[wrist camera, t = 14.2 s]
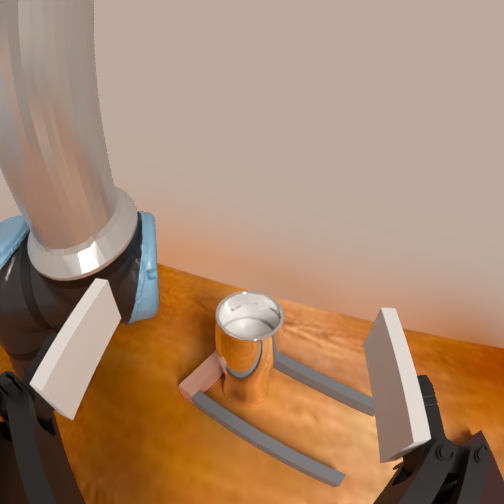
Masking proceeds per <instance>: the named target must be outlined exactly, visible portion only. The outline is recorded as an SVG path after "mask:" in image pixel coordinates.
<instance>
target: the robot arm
mask: <svg viewBox="0 0 504 504" xmlns="http://www.w3.org/2000/svg"><path fill="white" fill-rule="evenodd" d="M0 168H1V170H2V173H3V175H4V177H5V180H6V182H7V184H8V186H9V189H10V191H11V193H12V195H13V197H14V199H15V202H16V204H17V206H18V208H19V210H20V212H21V213H22V215H23V217H22V216H15V217H12V218H9V219H7V220H5V221H3V222H1V223H0V344H1V346H2V347H3V348H4V350H5V351H6V352H7V354H8V355H9V358H10V360H11V363H12V366H13V368H14V371H15V373H16V375H17V376H16V375H15V374H14V373H13V372H11V371H5V372H4V373H2V374H1V375H0V416H1V417H3V420H2V422H1V421H0V504H86V503H85V501H84V499H83V497H82V495H81V492H80V490H79V488H78V485H77V483H76V480H75V478H74V475H73V473H72V470H71V467H70V464H69V462H68V459H67V456H66V453H65V450H64V447H63V443H62V440H61V436H60V433H59V429H58V426H57V422H56V418H55V415H54V413H53V411H54V409H55V410H56V411H57V412H58V413H59V414H61V415H63V416H65V417H67V418H69V419H71V420H73V419H74V417H75V414H76V412H77V409H78V407H79V405H80V402H81V400H82V398H83V396H84V393H85V391H86V389H87V387H88V384H89V383H90V381H91V380H92V378H93V375H94V373H95V370H96V367H97V365H98V363H99V361H100V359H101V357H102V355H103V353H104V351H105V349H106V347H107V345H108V343H109V341H110V339H111V337H112V335H113V333H114V331H115V329H116V327H117V325H118V324H119V323H125V324H131V323H133V322H135V321H140V320H146V319H150V318H152V317H154V316H155V315H156V313H157V312H158V309H159V286H158V274H157V251H156V231H155V218H154V216H153V215H152V214H151V213H149V212H148V213H147V212H143V211H138V212H137V209H136V206H135V204H134V201H133V199H132V198H131V197H130V196H129V195H128V194H127V193H126V192H125V191H123V190H122V189H120V188H118V187H115V186H114V183H113V179H112V174H111V169H110V165H109V160H108V155H107V149H106V144H105V138H104V132H103V126H102V120H101V113H100V106H99V98H98V89H97V79H96V66H95V51H94V0H0ZM363 346H364V351H365V356H366V361H367V367H368V372H369V378H370V384H371V390H372V396H373V403H374V410H375V417H376V425H377V433H378V442H379V452H380V463H384V462H390V461H395V460H398V459H399V458H401V457H403V462H401V463H399V464H398V465H396V466H395V467H394V468H393V470H395V469H397V468H398V470H397V471H396V473H395V474H394V476H393V477H392V479H391V480H390V481H389V483H388V484H387V486H386V487H385V488H384V490H383V491H382V493H381V494H380V495H379V497H378V498H377V499H376V501H375V502H374V503H373V504H480V500H481V497H482V493H483V489H484V485H485V480H486V475H487V470H488V465H489V459H490V451H489V447H488V446H487V445H486V444H485V443H483V442H478V443H476V444H474V445H473V446H471V447H469V446H457V445H454V444H453V443H452V442H451V441H450V440H448V439H447V438H446V436H445V433H444V429H443V425H442V420H441V416H440V412H439V407H438V405H437V400H436V397H435V392H434V388H433V385H432V383H431V382H430V380H429V379H428V377H427V376H426V375H420V376H417V375H416V371H415V368H414V364H413V361H412V358H411V354H410V351H409V348H408V345H407V341H406V338H405V335H404V332H403V329H402V326H401V323H400V321H399V318H398V315H397V312H396V309H395V308H381V309H380V311H379V314H378V316H377V318H376V320H375V322H374V324H373V326H372V328H371V330H370V332H369V334H368V336H367V338H366V340H365V342H364V344H363Z"/></svg>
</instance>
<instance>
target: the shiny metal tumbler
mask: <svg viewBox="0 0 504 504" xmlns="http://www.w3.org/2000/svg"><path fill="white" fill-rule="evenodd" d="M215 317H216V322H215V344H216V351H217V355H218V358H219V361H220V364H221V366H222V369H223V371H224V373H225V380H224V384H223V391H224V394H225V396H226V397H227V399H228V400H229V401H230V402H232V403H233V404H235V405H238V406H242V407H250V406H254V405H257V404H259V403H260V402H262V401H263V400H264V399H265V397H266V396H267V394H268V389H269V386H268V380H267V378H268V376H269V374H270V373H271V371H272V369H273V367H274V365H275V363H276V361H277V359H278V356H279V353H280V349H281V344H282V338H283V322H284V311H283V309H282V307H281V305H280V304H279V303H278V302H277V301H276V300H275V299H274V298H272V297H271V296H269V295H267V294H264V293H261V292H257V291H241V292H236V293H233V294H231V295H229V296H227V297H225V298H224V299H223V300H222V301H221V302H220V303H219V305H218V306H217V309H216V313H215Z"/></svg>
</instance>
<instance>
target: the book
mask: <svg viewBox="0 0 504 504" xmlns="http://www.w3.org/2000/svg"><path fill="white" fill-rule="evenodd" d="M478 442H483V443H485V444H486V445H487V446H488V447H489V445H488V443H487V441H486V439H485V437H484V435H483V433H482V431H479V432H478V433H476V434H475V435H473V436H472V437H471V438H470V439H469V440H467V441H466V442H465V443H463V444H462V445H461V446H469V447H471V446H473V445H474V444H476V443H478ZM489 451H490V459H489V465H488V470H487V475H486V480H485V485H484V489H483V493H482V497H481V500H480V504H504V480H503V478H502V476H501V473H500V471H499V469H498V466H497V463H496V461H495V458H494V456H493V454H492V451H491V449H490V447H489Z"/></svg>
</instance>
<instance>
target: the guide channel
mask: <svg viewBox="0 0 504 504" xmlns="http://www.w3.org/2000/svg"><path fill="white" fill-rule="evenodd" d="M274 368H275V369H277V370H279V371H281V372H283V373H285V374H286V375H288V376H290V377H292V378H294V379H296V380H298V381H299V382H301V383H303V384H305V385H307V386H309V387H311V388H313V389H315V390H317V391H319V392H321V393H323V394H325V395H327V396H329V397H331V398H333V399H335V400H337V401H339V402H342V403H344V404H346V405H348V406H350V407H352V408H354V409H357V410H359V411H361V412H363V413H366V414H368V415H370V416H373V415H374V414H375V410H374V403H373V398H372V397H370V396H367V395H365V394H363V393H361V392H358V391H356V390H354V389H352V388H350V387H348V386H346V385H343V384H341V383H339V382H337V381H335V380H333V379H331V378H329V377H327V376H325V375H323V374H321V373H319V372H317V371H315V370H313V369H311V368H309V367H307V366H305V365H303V364H301V363H299V362H297V361H295V360H293V359H291V358H290V357H288V356H286V355H284V354H282V353H279V356H278V359H277V361H276V363H275V365H274ZM223 374H224V371H223V369H222V366H221V364H220V361H219V358H218V355H217V351H215V352H214V353H213V354H212V355H211V356H209V357H208V358H207V359H206V360H205V361H204V362H203V363H202V364H201V365H200V366H199V367H198V368H197V369H195V370H194V371H193V372H192V373H191V374H190V375H189V376H188V377H187V378H186V379H185V380H183V381H182V382H181V383H180V384H179V388H180V391H181V394H182V396H183V397H185V398H186V399H187V400H189V401H190V402H191V403H192V404H194V405H195V406H196V407H198V408H199V409H200V410H202V411H203V412H204V413H206V414H207V415H209V416H210V417H211V418H213V419H214V420H216V421H217V422H218V423H220V424H221V425H223V426H224V427H226V428H227V429H229V430H230V431H232V432H233V433H235V434H236V435H238V436H239V437H241V438H242V439H244V440H246V441H247V442H249V443H250V444H252V445H254V446H255V447H257V448H259V449H260V450H262V451H264V452H265V453H267V454H269V455H271V456H272V457H274V458H276V459H278V460H279V461H281V462H283V463H285V464H287V465H289V466H291V467H293V468H295V469H296V470H298V471H300V472H302V473H304V474H307V475H309V476H311V477H313V478H315V479H317V480H319V481H321V482H324V483H326V484H328V485H330V486H333V487H336V486H339V485H340V484H341V482H342V481H343V479H344V477H345V475H346V474H343V473H341V472H339V471H336V470H334V469H332V468H330V467H327V466H325V465H323V464H321V463H319V462H317V461H315V460H313V459H311V458H309V457H307V456H305V455H303V454H301V453H299V452H297V451H295V450H293V449H291V448H289V447H287V446H286V445H284V444H282V443H280V442H278V441H277V440H275V439H273V438H271V437H270V436H268V435H266V434H264V433H263V432H261V431H259V430H258V429H256V428H254V427H253V426H251V425H250V424H248V423H246V422H245V421H243V420H242V419H240V418H239V417H237V416H235V415H234V414H232V413H231V412H229V411H228V410H226V409H225V408H223V407H222V406H221V405H219V404H218V403H216V402H215V401H213V400H212V399H211V398H209V397H208V396H206V395H205V394H204V393H205V392H206V391H207V390H208V389H209V388H210V387H211V386H212V385H213V384H214V383H215V382H216V381H217V380H218V379H219V378H220V377H221V376H222V375H223Z"/></svg>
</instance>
